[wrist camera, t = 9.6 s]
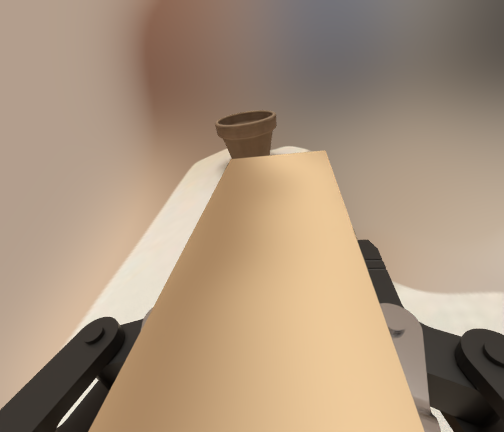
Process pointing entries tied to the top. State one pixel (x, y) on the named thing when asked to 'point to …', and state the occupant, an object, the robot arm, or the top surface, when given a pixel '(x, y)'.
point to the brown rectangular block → (266, 319)
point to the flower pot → (247, 133)
